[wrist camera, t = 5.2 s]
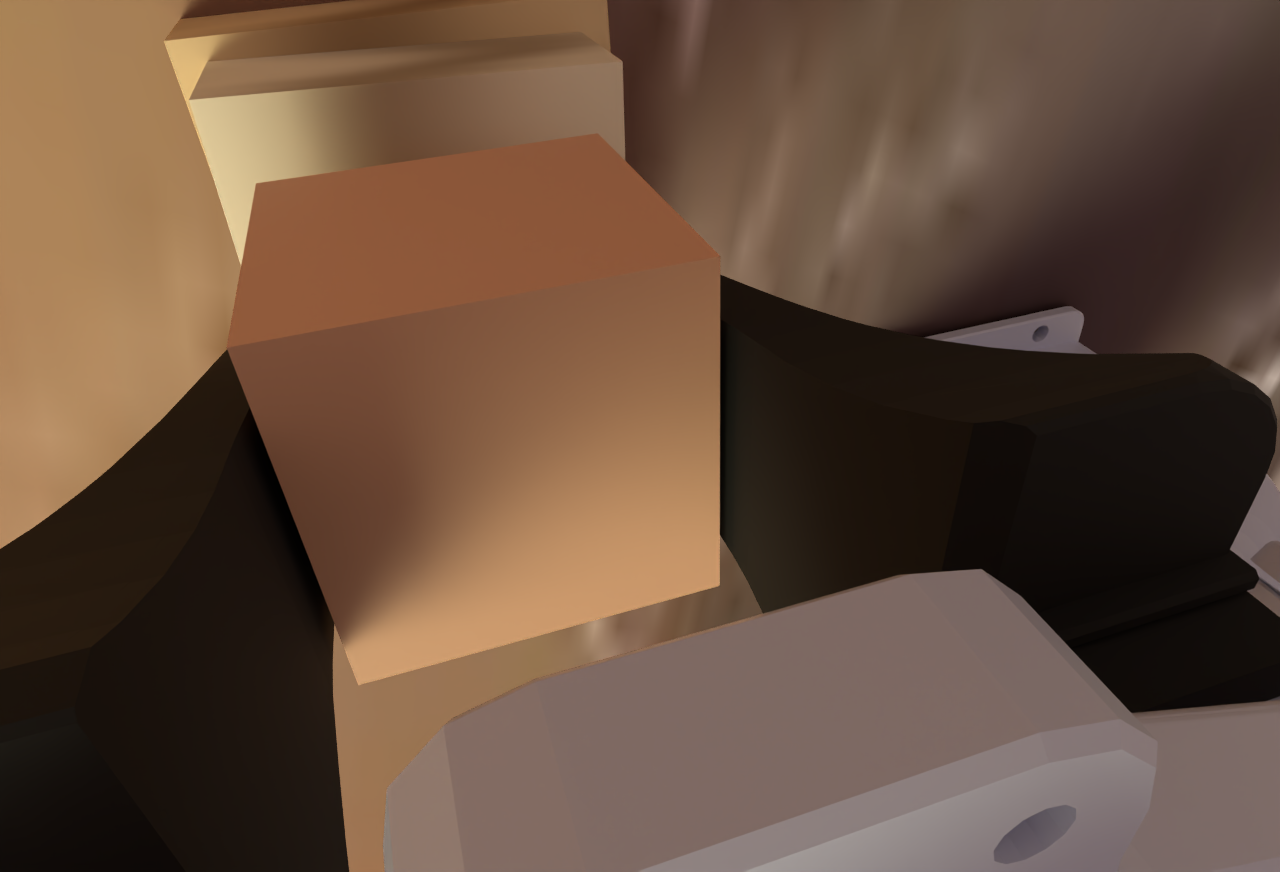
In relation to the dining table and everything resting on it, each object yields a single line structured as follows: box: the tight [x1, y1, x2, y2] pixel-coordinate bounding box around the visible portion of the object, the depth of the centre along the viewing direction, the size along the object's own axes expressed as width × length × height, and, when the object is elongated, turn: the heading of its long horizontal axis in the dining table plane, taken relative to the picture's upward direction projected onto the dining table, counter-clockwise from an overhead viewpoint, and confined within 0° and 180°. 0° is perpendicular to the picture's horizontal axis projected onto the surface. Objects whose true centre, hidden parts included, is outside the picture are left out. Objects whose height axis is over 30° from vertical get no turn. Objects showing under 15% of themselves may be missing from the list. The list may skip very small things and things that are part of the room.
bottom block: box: [164, 0, 611, 179], centre depth 17 cm, size 7×7×2 cm
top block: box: [189, 32, 625, 264], centre depth 15 cm, size 6×6×2 cm
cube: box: [227, 133, 720, 685], centre depth 11 cm, size 4×4×4 cm
